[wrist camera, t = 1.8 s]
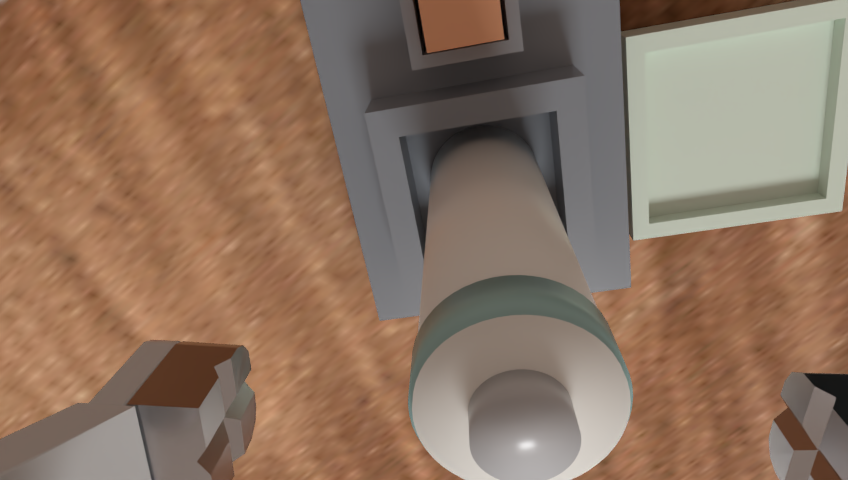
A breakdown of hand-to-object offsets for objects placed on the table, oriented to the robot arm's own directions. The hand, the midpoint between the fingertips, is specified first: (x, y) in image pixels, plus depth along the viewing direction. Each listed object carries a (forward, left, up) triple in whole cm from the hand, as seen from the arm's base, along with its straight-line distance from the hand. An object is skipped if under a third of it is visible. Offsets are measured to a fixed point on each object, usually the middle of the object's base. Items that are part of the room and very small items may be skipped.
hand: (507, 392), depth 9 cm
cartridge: (+2, -3, -20) cm, 20 cm away
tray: (+12, +5, -23) cm, 26 cm away
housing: (+1, -1, -23) cm, 23 cm away
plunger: (-3, +4, -18) cm, 19 cm away
